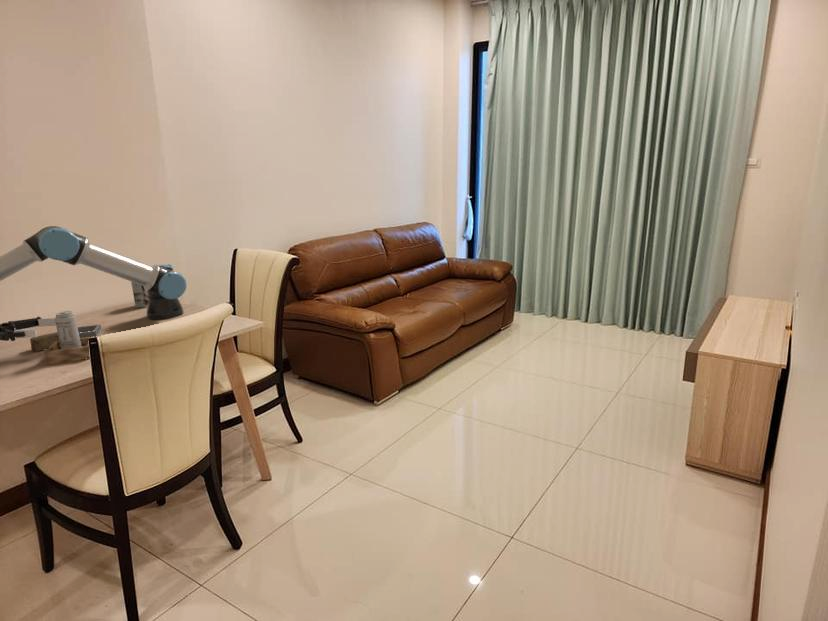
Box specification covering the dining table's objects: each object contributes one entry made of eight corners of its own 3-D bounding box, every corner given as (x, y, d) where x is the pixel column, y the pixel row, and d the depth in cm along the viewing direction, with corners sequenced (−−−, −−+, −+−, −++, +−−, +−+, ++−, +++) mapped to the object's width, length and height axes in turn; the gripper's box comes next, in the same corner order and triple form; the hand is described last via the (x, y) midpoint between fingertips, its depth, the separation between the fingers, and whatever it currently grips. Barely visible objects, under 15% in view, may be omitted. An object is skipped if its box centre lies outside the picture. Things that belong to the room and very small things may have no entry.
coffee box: (146, 307, 252) (140, 275, 248) (135, 307, 253) (129, 274, 249) (159, 303, 261) (153, 271, 256) (147, 302, 262) (142, 271, 258)
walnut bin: (97, 347, 195) (95, 336, 194) (90, 358, 183) (88, 346, 182) (57, 352, 191) (54, 341, 190) (47, 364, 179) (44, 352, 178)
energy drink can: (86, 350, 189) (78, 310, 185) (73, 356, 183) (64, 315, 180) (72, 350, 190) (63, 310, 186) (58, 355, 185) (49, 315, 181)
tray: (101, 330, 218) (100, 324, 217) (96, 337, 208) (95, 331, 207) (71, 333, 214) (70, 327, 213) (64, 341, 204) (63, 335, 203)
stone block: (70, 344, 201) (67, 332, 199) (35, 353, 192) (32, 340, 191) (64, 341, 204) (61, 329, 203) (29, 350, 196) (26, 337, 194)
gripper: (8, 330, 194) (68, 327, 196) (-41, 353, 170) (28, 348, 172) (3, 311, 192) (64, 307, 194) (-47, 331, 168) (23, 327, 170)
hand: (47, 327), depth 183 cm, fingers open, 13 cm apart
